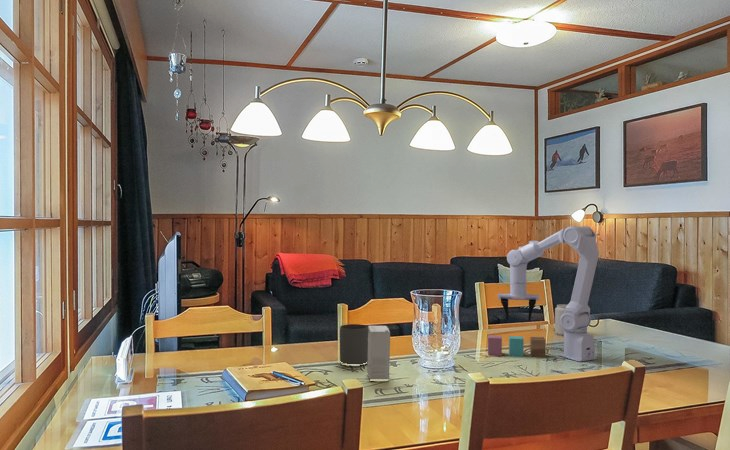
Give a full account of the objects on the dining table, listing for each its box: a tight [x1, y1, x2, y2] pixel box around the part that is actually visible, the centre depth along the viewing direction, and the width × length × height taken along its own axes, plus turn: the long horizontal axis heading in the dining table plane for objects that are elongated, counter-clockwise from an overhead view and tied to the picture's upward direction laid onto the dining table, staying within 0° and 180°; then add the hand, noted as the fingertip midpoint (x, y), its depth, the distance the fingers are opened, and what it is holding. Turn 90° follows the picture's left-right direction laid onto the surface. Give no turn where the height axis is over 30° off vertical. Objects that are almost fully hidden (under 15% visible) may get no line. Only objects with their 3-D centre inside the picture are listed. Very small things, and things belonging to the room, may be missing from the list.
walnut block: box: [529, 336, 547, 359], centre depth 191 cm, size 4×4×6 cm
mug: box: [339, 323, 368, 364], centre depth 183 cm, size 14×9×12 cm
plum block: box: [487, 334, 503, 357], centre depth 194 cm, size 4×4×6 cm
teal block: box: [508, 335, 525, 358], centre depth 192 cm, size 4×4×6 cm
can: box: [554, 303, 568, 337], centre depth 226 cm, size 8×8×12 cm
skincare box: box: [366, 325, 391, 380], centre depth 164 cm, size 8×6×15 cm
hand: (518, 319), depth 205 cm, fingers open, 7 cm apart
